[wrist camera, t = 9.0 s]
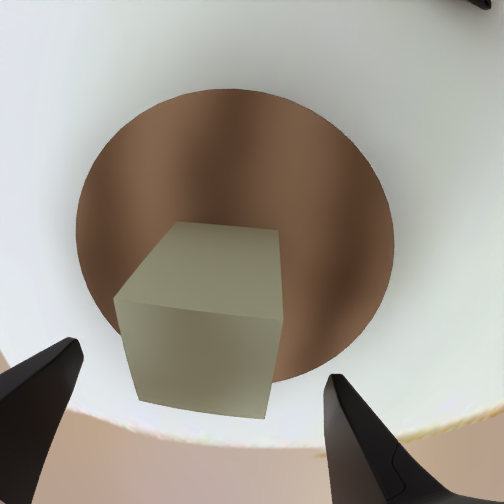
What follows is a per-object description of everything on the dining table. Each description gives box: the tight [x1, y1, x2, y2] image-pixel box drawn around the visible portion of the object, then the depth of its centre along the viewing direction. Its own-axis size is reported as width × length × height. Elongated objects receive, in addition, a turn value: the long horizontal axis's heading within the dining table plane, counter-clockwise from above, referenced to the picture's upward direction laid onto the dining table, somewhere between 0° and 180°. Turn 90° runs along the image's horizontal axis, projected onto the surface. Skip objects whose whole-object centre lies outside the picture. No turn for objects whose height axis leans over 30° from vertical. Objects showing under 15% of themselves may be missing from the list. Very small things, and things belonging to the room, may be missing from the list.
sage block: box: [113, 221, 283, 419], centre depth 12 cm, size 5×5×7 cm
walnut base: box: [76, 89, 394, 383], centre depth 17 cm, size 18×18×3 cm
